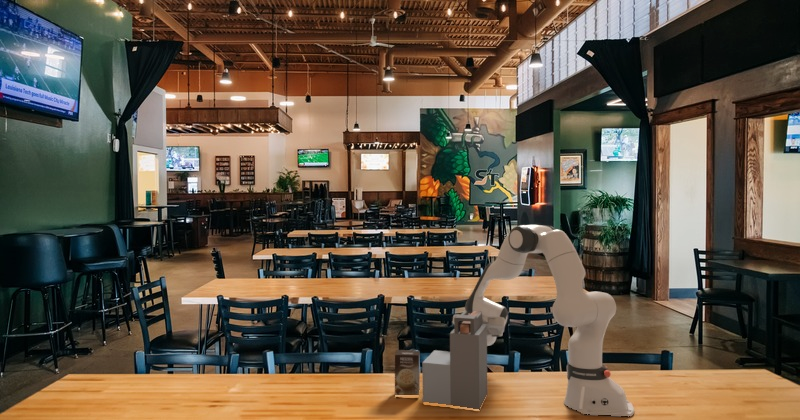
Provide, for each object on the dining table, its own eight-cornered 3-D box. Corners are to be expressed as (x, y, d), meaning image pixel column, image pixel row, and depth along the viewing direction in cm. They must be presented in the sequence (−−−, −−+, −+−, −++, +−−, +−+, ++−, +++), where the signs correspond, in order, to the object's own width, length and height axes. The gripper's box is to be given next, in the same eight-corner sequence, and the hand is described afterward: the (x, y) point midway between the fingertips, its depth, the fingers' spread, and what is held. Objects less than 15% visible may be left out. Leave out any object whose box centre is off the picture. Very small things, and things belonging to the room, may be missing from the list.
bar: (481, 319, 200) (481, 311, 199) (469, 333, 177) (468, 325, 177) (473, 318, 200) (473, 310, 200) (460, 333, 178) (460, 324, 178)
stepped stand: (487, 395, 190) (486, 309, 190) (479, 411, 175) (478, 319, 175) (434, 389, 197) (433, 307, 196) (422, 405, 181) (421, 315, 181)
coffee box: (394, 398, 188) (393, 354, 188) (395, 392, 194) (395, 349, 194) (419, 399, 187) (418, 355, 187) (420, 392, 193) (419, 350, 193)
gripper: (456, 317, 213) (450, 306, 201) (507, 320, 206) (503, 309, 195) (455, 332, 210) (448, 322, 198) (506, 336, 203) (502, 325, 192)
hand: (475, 315), depth 196 cm, fingers closed on bar, 3 cm apart
